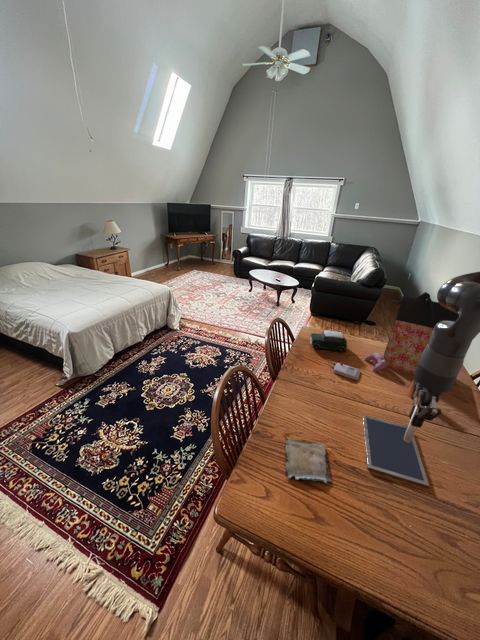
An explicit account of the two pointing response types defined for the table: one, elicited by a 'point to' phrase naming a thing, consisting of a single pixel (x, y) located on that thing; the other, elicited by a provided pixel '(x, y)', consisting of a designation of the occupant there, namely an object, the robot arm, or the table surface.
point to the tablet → (392, 451)
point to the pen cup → (411, 390)
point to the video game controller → (377, 361)
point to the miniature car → (329, 340)
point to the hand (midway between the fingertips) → (414, 422)
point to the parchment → (306, 461)
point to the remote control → (346, 370)
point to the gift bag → (414, 330)
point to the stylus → (410, 429)
